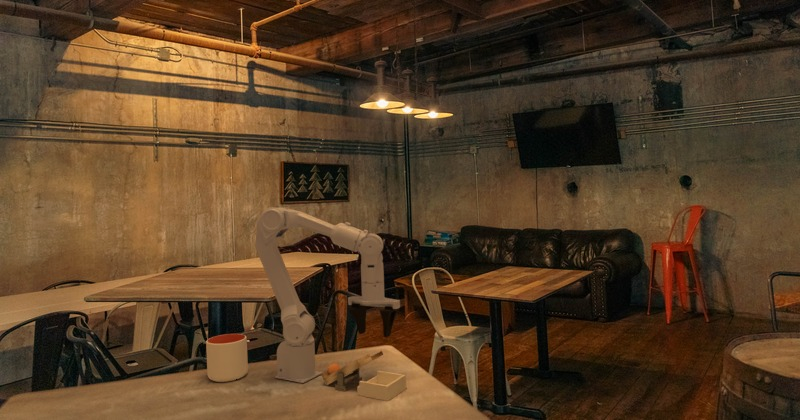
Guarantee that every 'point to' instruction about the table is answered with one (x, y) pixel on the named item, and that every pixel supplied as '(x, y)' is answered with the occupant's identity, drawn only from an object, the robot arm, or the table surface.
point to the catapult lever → (349, 367)
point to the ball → (333, 368)
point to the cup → (227, 357)
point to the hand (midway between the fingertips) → (374, 334)
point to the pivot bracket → (347, 380)
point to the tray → (382, 386)
